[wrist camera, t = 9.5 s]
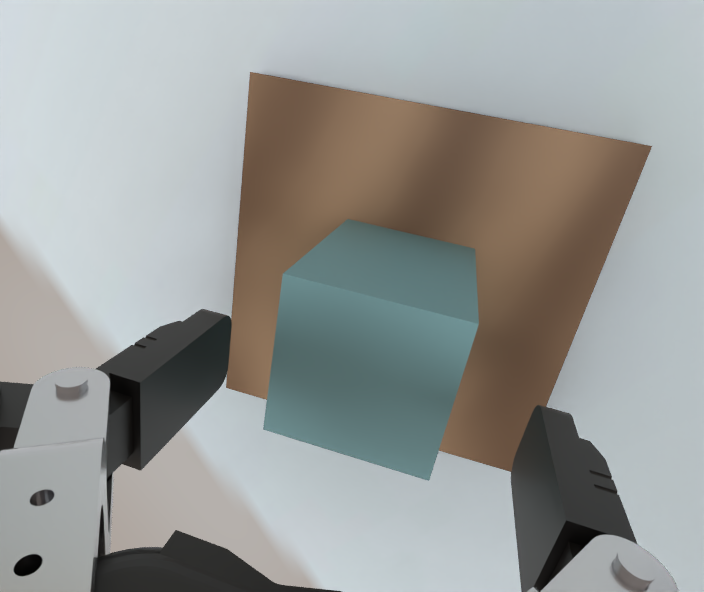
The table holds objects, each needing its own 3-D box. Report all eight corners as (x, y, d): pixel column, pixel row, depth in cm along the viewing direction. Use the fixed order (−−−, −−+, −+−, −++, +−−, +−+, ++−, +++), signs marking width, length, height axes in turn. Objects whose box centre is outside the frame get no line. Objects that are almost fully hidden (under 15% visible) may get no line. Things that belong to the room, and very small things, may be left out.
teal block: (475, 248, 17) (478, 324, 11) (442, 361, 19) (428, 480, 13) (347, 219, 18) (282, 273, 12) (328, 330, 20) (263, 429, 14)
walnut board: (641, 144, 16) (651, 146, 15) (516, 458, 21) (518, 473, 20) (261, 74, 18) (250, 71, 17) (235, 377, 23) (226, 387, 23)
